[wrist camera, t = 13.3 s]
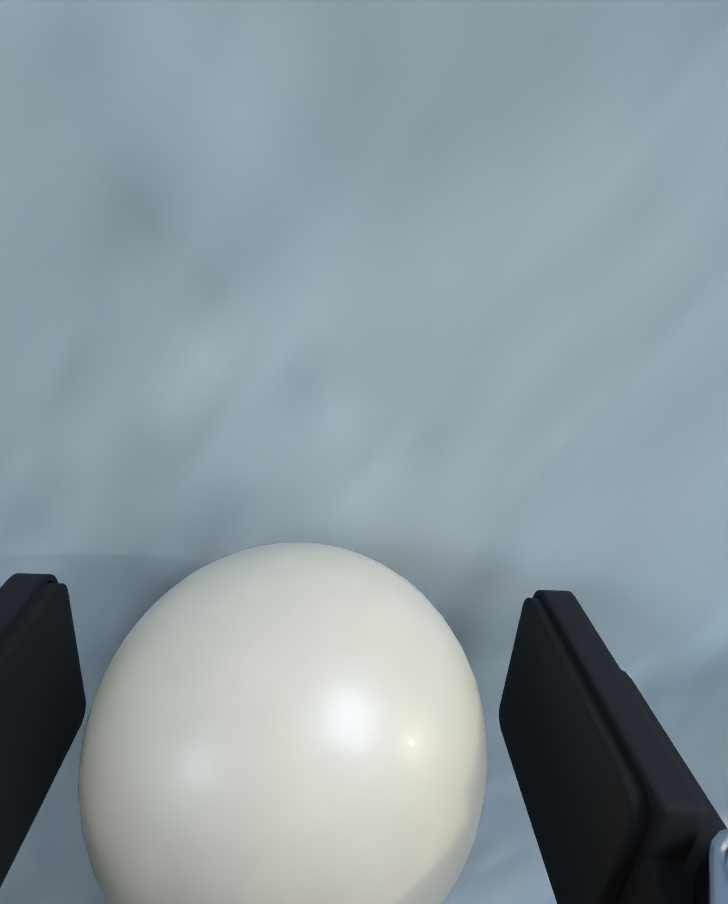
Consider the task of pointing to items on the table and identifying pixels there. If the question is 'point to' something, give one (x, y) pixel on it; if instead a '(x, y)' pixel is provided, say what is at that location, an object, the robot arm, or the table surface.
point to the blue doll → (285, 740)
